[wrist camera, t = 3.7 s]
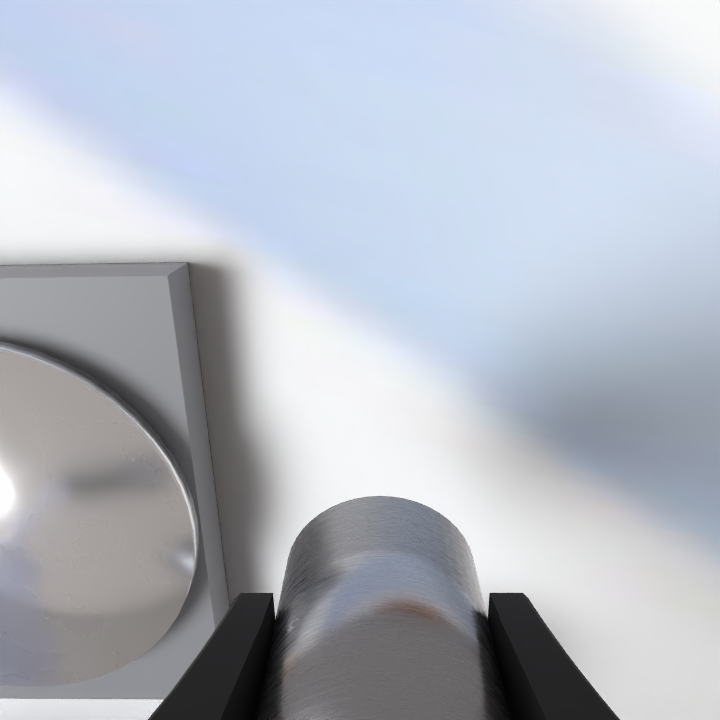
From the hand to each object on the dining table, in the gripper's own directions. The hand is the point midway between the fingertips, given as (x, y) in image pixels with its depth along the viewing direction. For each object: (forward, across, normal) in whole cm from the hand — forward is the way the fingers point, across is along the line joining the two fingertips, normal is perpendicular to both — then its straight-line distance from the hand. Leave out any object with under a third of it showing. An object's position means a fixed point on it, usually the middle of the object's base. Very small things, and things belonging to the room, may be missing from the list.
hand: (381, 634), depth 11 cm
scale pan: (+6, +11, +2) cm, 13 cm away
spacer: (+2, 0, 0) cm, 2 cm away
